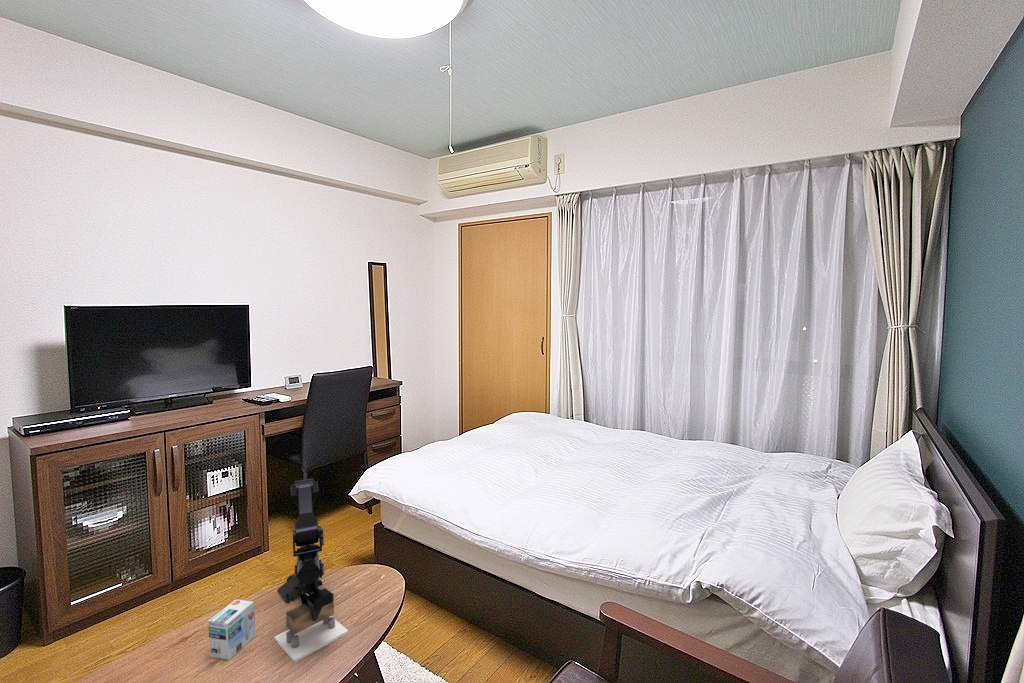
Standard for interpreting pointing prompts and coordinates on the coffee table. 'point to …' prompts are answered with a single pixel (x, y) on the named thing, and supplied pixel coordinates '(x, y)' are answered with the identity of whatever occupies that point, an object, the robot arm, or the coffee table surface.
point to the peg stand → (310, 638)
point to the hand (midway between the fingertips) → (310, 616)
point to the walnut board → (306, 617)
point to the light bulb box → (231, 629)
